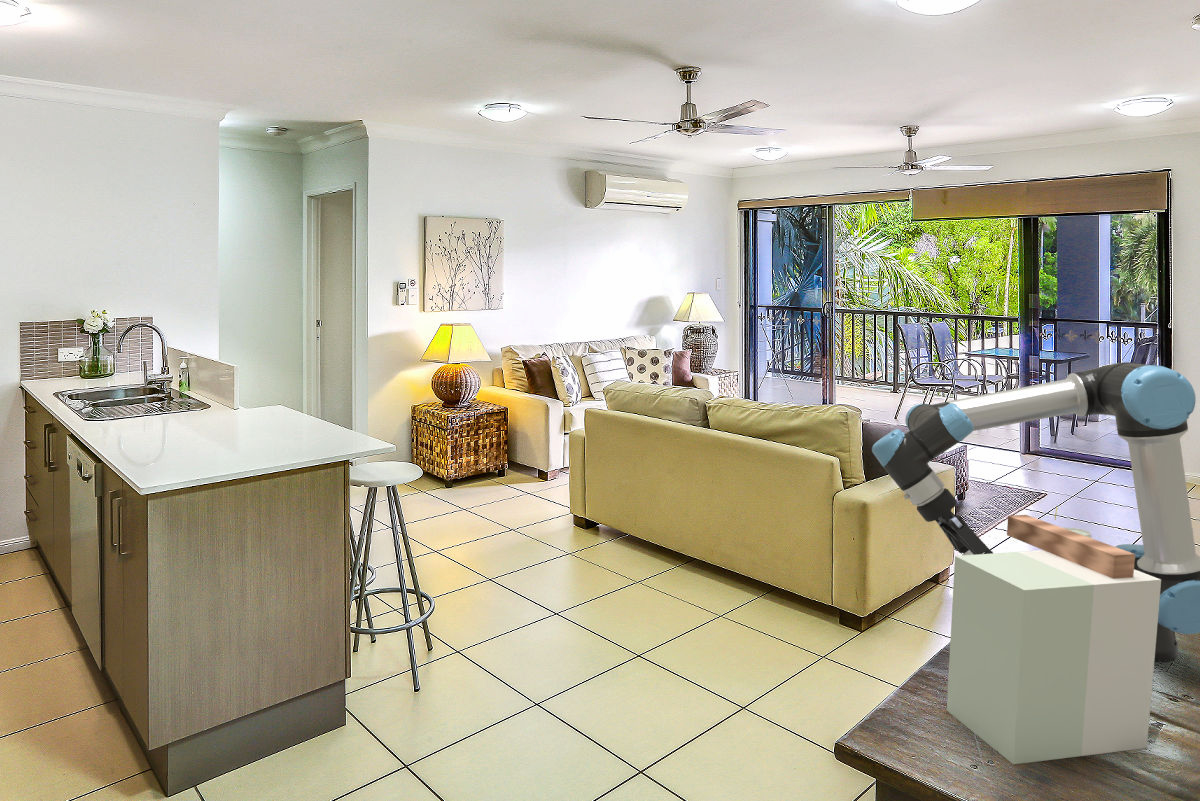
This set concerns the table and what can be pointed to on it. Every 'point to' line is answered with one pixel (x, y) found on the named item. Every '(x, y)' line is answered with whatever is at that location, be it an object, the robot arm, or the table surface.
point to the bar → (1072, 546)
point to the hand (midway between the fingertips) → (997, 581)
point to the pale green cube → (1051, 655)
